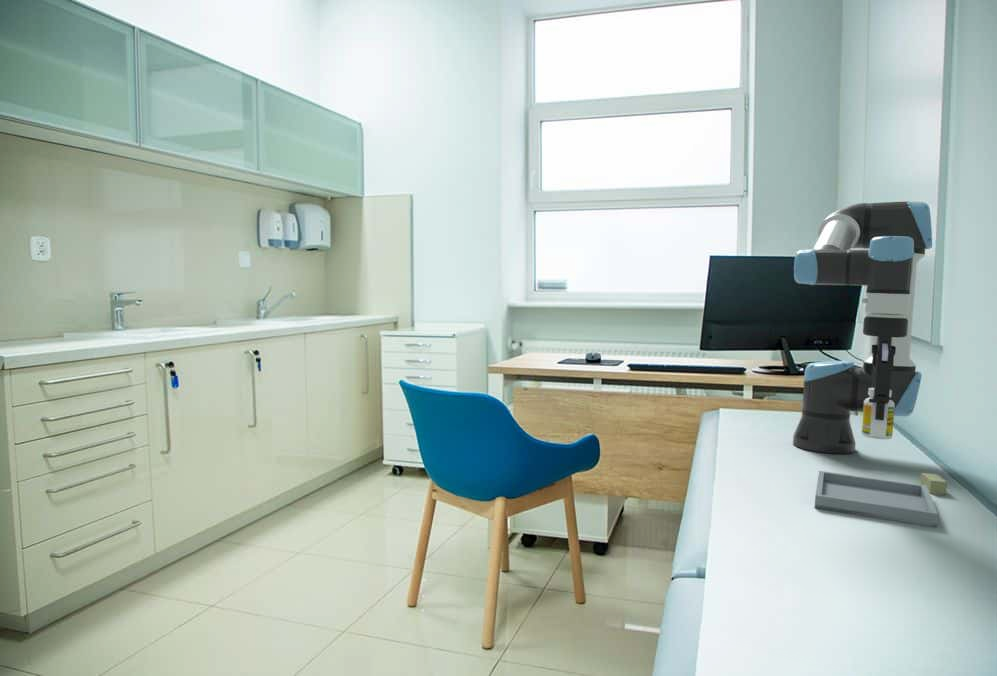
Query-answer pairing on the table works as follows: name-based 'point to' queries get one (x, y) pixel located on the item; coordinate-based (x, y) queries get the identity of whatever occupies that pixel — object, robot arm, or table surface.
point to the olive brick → (934, 483)
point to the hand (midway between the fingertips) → (877, 432)
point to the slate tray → (876, 498)
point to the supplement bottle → (867, 417)
